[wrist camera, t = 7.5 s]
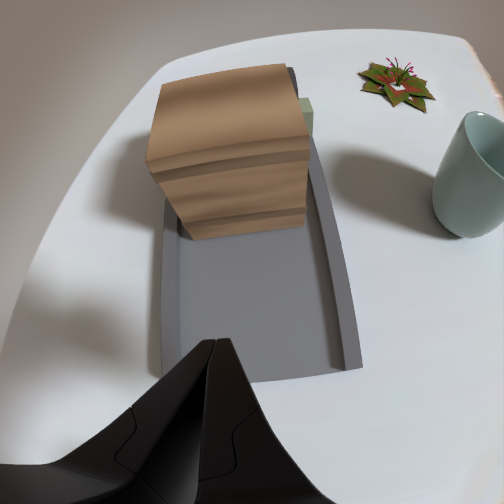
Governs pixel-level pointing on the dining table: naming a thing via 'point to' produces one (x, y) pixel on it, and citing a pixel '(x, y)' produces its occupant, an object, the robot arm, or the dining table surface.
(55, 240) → the dining table surface
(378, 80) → the lily flower
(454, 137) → the cup
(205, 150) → the brown wooden block
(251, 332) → the bay
